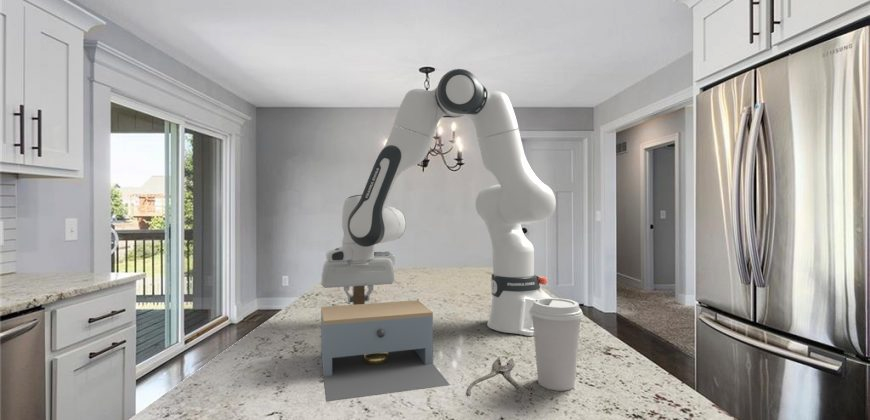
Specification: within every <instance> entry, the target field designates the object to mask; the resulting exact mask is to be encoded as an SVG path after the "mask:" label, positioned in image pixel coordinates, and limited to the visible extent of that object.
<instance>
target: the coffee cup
mask: <svg viewBox="0 0 870 420" xmlns="http://www.w3.org/2000/svg"><path fill="white" fill-rule="evenodd" d="M530 314H531V315H532V318H533V329H534V335H533V336H534V337H533V338H534V350H535V362H536V372H537V373H536V374H537V375H536V376H537V383H538V385H540V386H541V387H543V388H545V389H548V390H550V391H556V392H557V391H558V392H562V391H564V392H565V391H569V390H570V391H571V390H572V389H574V387H575V382H576V371H577V363H578V362H577V361H578V360H577V359H578V347H579V337H580V329H581V319H582V318H584V312H583V311H582V309H581V308H580V304H579V302H577V301H574V300H572V299H569V298H568V299H567V298H559V297H555V298H554V297H552V298H541V299H537V300H535V301H534V304H533V306H532V307H531V309H530Z"/></svg>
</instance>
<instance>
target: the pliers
mask: <svg viewBox="0 0 870 420" xmlns="http://www.w3.org/2000/svg"><path fill="white" fill-rule="evenodd" d="M492 365H493V368H492V369H491V372H489V373H488V374H486V375H484V376H481V377H480V378H477V379H475V380H473V381H472V382H471V383H470V385H468V386H467V389H466V396H467V397H470V396H471V391H472V389H473V387H475V386H476V385H477V384H478V383H479V384H480V383H482V382H483V381H486V380H488V379H490V378H494V377H496V376H497V375H499V374H502V375H503V377H504V378H505V379H506V380H507V381H508V382H509V383H510V384H512V386H514V388H515V389H516V390H517V395H516V398H515V399H514V402H515V403H518V402H519V401H521V398H522V394H523V390H522V388H521V386H520V384H519V383H518V382H517V381H515V380H514V378H513V377H512V376H511V371H512V370H513V369H514V368H515V362H514V358H512V357H511V358H510V359H509V360H508V361H507V362H506V364H505V365H502V362H501V357H500V356H499V357H498V358H496V359H495V361H494V362H493V363H492Z"/></svg>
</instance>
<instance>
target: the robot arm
mask: <svg viewBox="0 0 870 420" xmlns="http://www.w3.org/2000/svg"><path fill="white" fill-rule="evenodd" d="M512 105H513V104H512V103H511V101H510V98H509V96H508V95H507V94H506V93H504V92H502V91H500V90H490V91H489V90H488V89H487V88H486V86H485V85H484V84H483V83H482V82H481V81H480V80H479V79H478V78H477V76H475V74H474V73H472V72H471V71H469V70H468V69H464V68H455V69H452V70H448V72H446V73H445V74H444V75H443V76H442V77H441V78H440V80H439V82H438V85H437V86H436V88H434V89H433V90H427V89H423V88H414V89H411V90H409V91H408V92H406V94H405V96H404V97H403V99H402V101H401V103H400V106H399V108H398V110H397V112H396V115H395V117H394V121H393V123H392V124H393V125H392V127H391V131H390V134H389V136H388V138H387V141H386V143H385V145H384V146H383V148H382V149H381V151H380V152H379V154H378V156H377V158H376V160H375V162H374V165H373V167H372V169H371V172H370V173H369V176H368V179H367V182H366V183H365V187H364V190H363V192H362V193H361V194H354V195H352V196H351V195H350V196H349V197H347V198H346V199H345V200H344V203H343V206H342V217H341V221H342V222H341V227H342V232H343V237H342V244H341V246H340V247H336V248H334V249H331V250H328V251H327V252H326V253H325V258H326V260H325V261H324V263H323V266H322V270H321V286H322V287H323V288H324V289H329V288H343V291H344V293H345V295H346V296H347V303H349V304H350V303H353V294H352V295H351V294H350V292H349V291H350V287H353V286H365V287H366V286H367V289H368V290H367V292H366V293H365V303H366V302H370V296H371V294H372V292H373V290H374V286H381V285H384V286H385V285H392V284H393V283H394V282H395V281H396V280H395V269H394V265H395V264H396V263H395V262H396V257H395V254H393V253H391V252H390V251H375V245H377V244H383V243H388V242H392V241H395V240H397V239H400V238H401V237H403V234H404V233H405V230H406V229H407V228H406V226H407V222H406V217H405V215H404V212H403V211H401V210H400V209H399V208H396V207H393V206H390V205H387V201H388V199H389V197H390V194H391V191H392V189H393V187H394V184H395V181H396V180H397V178H398V177H399V176H400V175H401V174H403V172H405V171H406V170H408V169H410V168H412V167H414V166H417V165H418V164H420V163H422V162H423V161H424V160H425V159H426V157H427V154H428V152H429V151H430V148H431V145H432V142H433V139H434V135H435V132H436V129H437V126H438V123H439V122H440V120H441V119H442V118H452V119H453V118H454V119H455V118H461V117H463V116H467V117H469V118H470V120H471V122H472V123H473V125H474V127H475V132H476V137H477V141H478V147H479V150H480V155H481V159H482V163H483V164H482V165H483V166H484V168H485V169H486V170H487V171H488V172H490V173H491V174H492V175H493V176H494V177H495V179H496V180H497V182H498V184H494V185H491V186H487V187H485V188H483V189H482V190H480V191H479V193H478V194H477V195H476V199H475V209H476V212H477V214H478V216H479V217H480V218H481V219H482V220H483V222H484V223H485V226H486V227H487V228H486V229H487V231H488V234H489V236H490V237H489V239H490V241H491V246H492V274H491V280H490V281H491V283H490V284H491V285H490V288H491V295H492V296H491V304H490V312H489V315H488V321H487V323H486V324H487V327H488V328H489V329H492V330H494V331H497V332H502V333H506V334H507V333H508V334H517V335H522V336H527V337H533V336H534V329H533V318H532V315H531V314H530V309H531V307H532V306H533V304H534V301H535V300H537V299H541V298H553V297H551V296H550V295H549V294H548V293H546V292H545V290H543V289H542V288H541V286H540V285H543V286H545V285H547V284H548V278H547V277H545V276H538V275H536V274H535V249H534V245H533V243H532V242H531V241H530V240H529V239H528V238H527V237H526V235H525V234H524V231H523V229H522V225H534V224H540V223H543V222H547V221H548V220H550V219H551V218H552V216H553V214H554V213H555V210H556V205H557V200H556V195H555V193H554V191H553V189H551V187H549V186H548V185H547V184H545V183H544V182H542V180H541V179H540V178H539V177H538V176H537V175H536V173H535V172H534V171H533V169H532V168H531V165H530V163H529V161H528V159H527V157H526V154H525V151H524V145H523V141H522V138H521V133H520V128H519V124H518V121H517V120H518V119H517V117H516V114H515V110H514V108H513V106H512Z"/></svg>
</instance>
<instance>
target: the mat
mask: <svg viewBox="0 0 870 420" xmlns="http://www.w3.org/2000/svg"><path fill="white" fill-rule="evenodd" d="M323 381H324V390H325V391H324V392H325V401H326V402H333V401H341V400H348V399H355V398H364V397H371V396H378V395H379V396H380V395H386V394H392V393H393V394H394V393H401V392H408V391H410V392H411V391H415V390H422V389H423V390H424V389H431V388H439V387H446V386H447V387H448V386H450V385H451V383H449V380H447V378H445V376H444V375H443V374H442V373H441V372H440V371H439V369H438V368H437V367H436V366H435V364H434V363H433V364H425V363H424V362H423V361H422V359H421V358H420V357H419V355H418V354H417V353H416V351H415V350H414V349H412V350H403V351H393V352H388V362H387V363H385V364H381V365H368V364H366V363H365V362H364V355H354V356H345V357H335V358H332V375H330V376H324V375H323Z"/></svg>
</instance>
